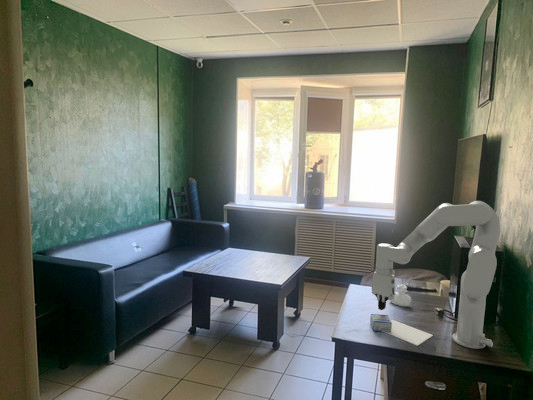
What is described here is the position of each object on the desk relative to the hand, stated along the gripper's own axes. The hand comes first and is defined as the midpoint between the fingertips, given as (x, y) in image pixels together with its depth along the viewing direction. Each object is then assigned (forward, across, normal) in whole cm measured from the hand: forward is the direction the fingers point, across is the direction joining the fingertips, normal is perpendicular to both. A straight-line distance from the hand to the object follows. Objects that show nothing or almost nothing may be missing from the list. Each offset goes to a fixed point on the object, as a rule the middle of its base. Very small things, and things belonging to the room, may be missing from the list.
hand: (381, 308), depth 175 cm
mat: (+7, -12, 0) cm, 14 cm away
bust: (+7, +7, -29) cm, 31 cm away
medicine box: (+4, 0, +2) cm, 5 cm away
